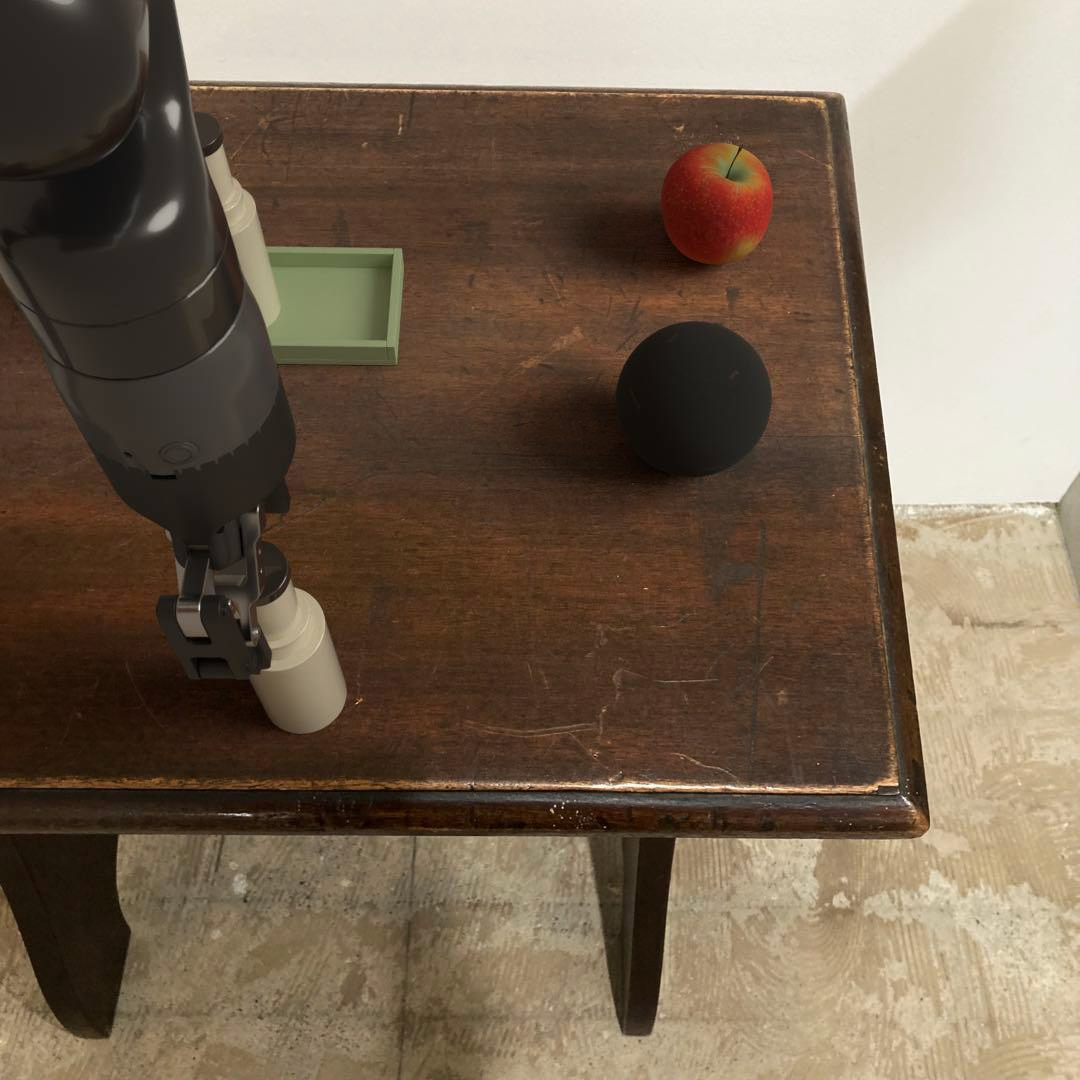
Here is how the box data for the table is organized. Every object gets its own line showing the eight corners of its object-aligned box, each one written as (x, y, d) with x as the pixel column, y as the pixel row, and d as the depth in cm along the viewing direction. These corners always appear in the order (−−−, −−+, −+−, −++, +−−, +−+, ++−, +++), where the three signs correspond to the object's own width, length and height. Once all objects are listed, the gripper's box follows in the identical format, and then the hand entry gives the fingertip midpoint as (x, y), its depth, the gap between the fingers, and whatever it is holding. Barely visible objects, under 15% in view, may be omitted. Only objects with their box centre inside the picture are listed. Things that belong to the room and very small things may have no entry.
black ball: (583, 462, 78) (592, 370, 69) (654, 363, 82) (671, 265, 73) (714, 530, 75) (740, 444, 67) (780, 425, 80) (813, 331, 71)
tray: (81, 362, 81) (71, 342, 79) (105, 263, 85) (96, 243, 84) (397, 365, 81) (394, 346, 80) (404, 267, 86) (401, 247, 84)
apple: (662, 202, 90) (678, 96, 81) (764, 219, 89) (792, 114, 80) (646, 278, 86) (661, 176, 77) (753, 296, 85) (781, 195, 77)
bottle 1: (206, 334, 82) (144, 158, 68) (215, 281, 84) (157, 101, 70) (276, 335, 82) (229, 160, 68) (284, 282, 84) (239, 102, 70)
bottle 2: (258, 734, 68) (193, 616, 54) (268, 656, 70) (208, 524, 56) (343, 734, 68) (300, 617, 54) (349, 656, 70) (310, 525, 56)
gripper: (106, 236, 46) (203, 461, 60) (29, 549, 39) (160, 720, 53) (296, 237, 46) (348, 462, 60) (253, 551, 39) (324, 721, 53)
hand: (260, 582), depth 56 cm, fingers open, 8 cm apart
